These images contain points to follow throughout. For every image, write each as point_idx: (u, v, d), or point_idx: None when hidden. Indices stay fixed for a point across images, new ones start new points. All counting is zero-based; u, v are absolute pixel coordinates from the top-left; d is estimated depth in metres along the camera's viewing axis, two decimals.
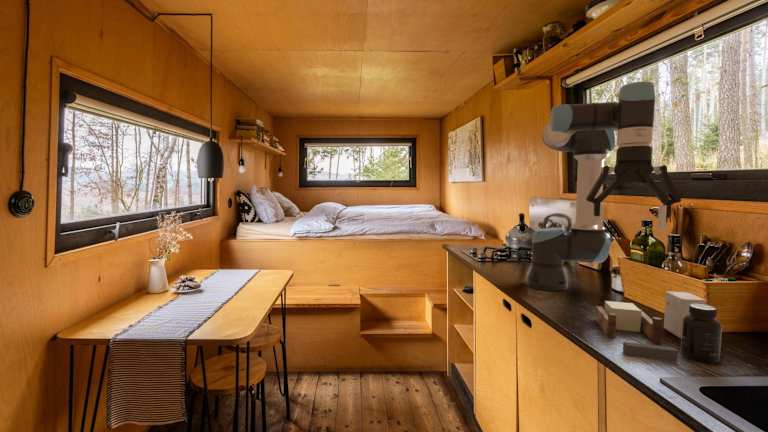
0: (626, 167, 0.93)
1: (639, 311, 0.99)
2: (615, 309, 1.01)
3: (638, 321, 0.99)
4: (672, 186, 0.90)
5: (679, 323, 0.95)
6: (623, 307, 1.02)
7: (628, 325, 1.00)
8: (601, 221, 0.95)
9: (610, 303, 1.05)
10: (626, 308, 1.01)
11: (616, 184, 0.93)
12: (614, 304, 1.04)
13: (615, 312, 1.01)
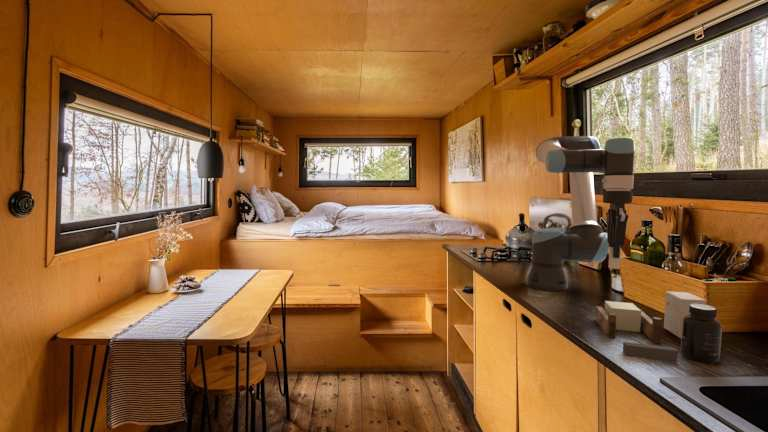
0: (610, 205, 1.13)
1: (639, 311, 0.99)
2: (615, 309, 1.01)
3: (638, 321, 0.99)
4: (615, 232, 1.07)
5: (679, 323, 0.95)
6: (623, 307, 1.02)
7: (628, 325, 1.00)
8: (609, 260, 1.12)
9: (610, 303, 1.05)
10: (626, 308, 1.01)
11: (610, 224, 1.12)
12: (614, 304, 1.05)
13: (615, 312, 1.01)
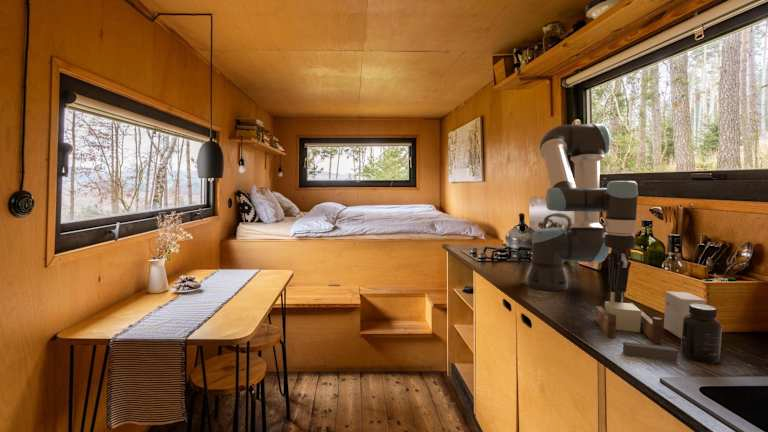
0: (612, 248, 1.10)
1: (639, 311, 0.99)
2: (615, 309, 1.01)
3: (638, 321, 0.99)
4: (617, 278, 1.04)
5: (679, 323, 0.95)
6: (623, 307, 1.02)
7: (628, 326, 1.00)
8: None
9: (610, 303, 1.05)
10: (626, 308, 1.01)
11: (612, 268, 1.09)
12: (614, 304, 1.05)
13: (615, 312, 1.01)
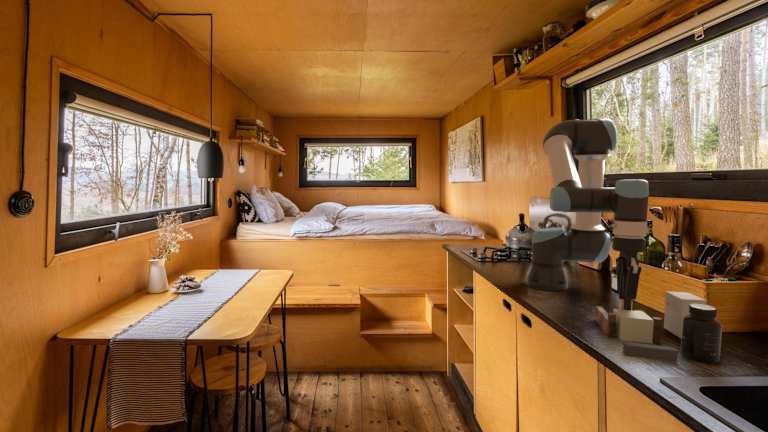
0: (620, 252, 1.03)
1: (651, 320, 0.92)
2: (625, 318, 0.93)
3: (650, 331, 0.92)
4: (626, 285, 0.97)
5: (679, 323, 0.95)
6: (633, 316, 0.94)
7: (639, 336, 0.93)
8: None
9: (619, 311, 0.98)
10: (637, 317, 0.93)
11: (620, 273, 1.02)
12: (623, 312, 0.97)
13: (625, 321, 0.93)
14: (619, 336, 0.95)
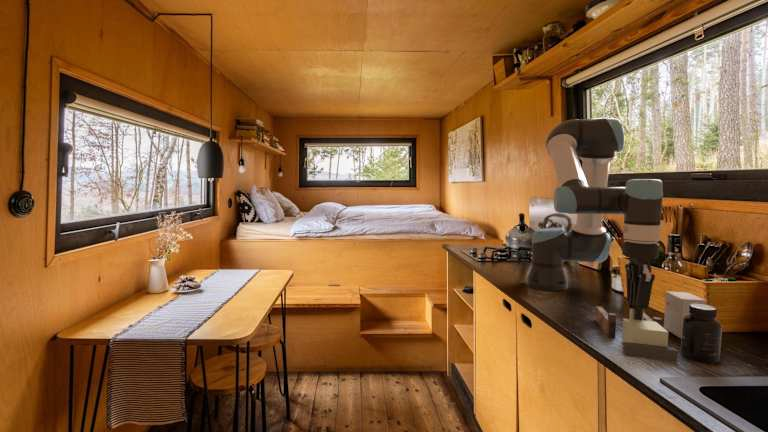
0: (631, 257, 0.95)
1: (666, 332, 0.84)
2: (637, 330, 0.86)
3: (665, 344, 0.84)
4: (638, 294, 0.89)
5: (679, 323, 0.95)
6: (646, 327, 0.87)
7: None
8: None
9: (630, 322, 0.90)
10: (650, 328, 0.86)
11: (631, 281, 0.94)
12: (635, 323, 0.89)
13: (637, 333, 0.86)
14: None
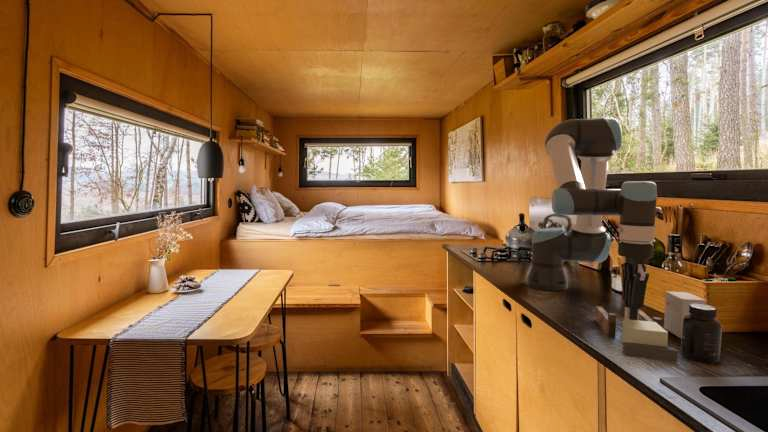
0: (626, 257, 0.98)
1: (665, 333, 0.84)
2: (637, 330, 0.86)
3: (664, 344, 0.84)
4: (633, 292, 0.92)
5: (679, 323, 0.95)
6: (646, 327, 0.87)
7: None
8: None
9: (630, 322, 0.90)
10: (650, 329, 0.86)
11: (626, 280, 0.97)
12: (634, 323, 0.89)
13: (637, 334, 0.86)
14: None
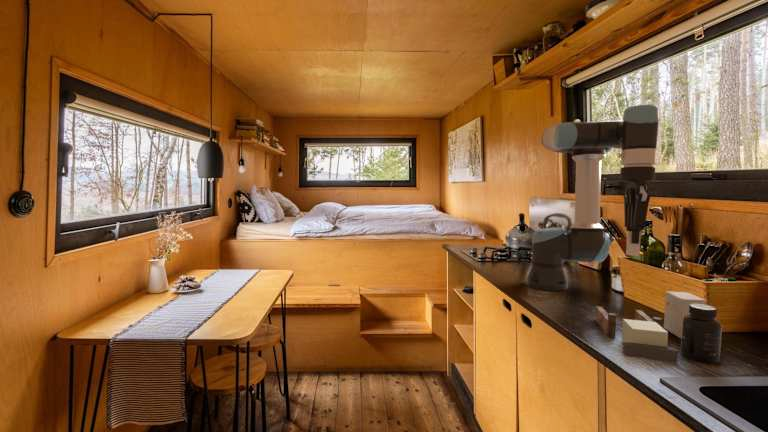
0: (629, 183, 0.99)
1: (665, 333, 0.84)
2: (637, 330, 0.86)
3: (664, 344, 0.84)
4: (635, 214, 0.94)
5: (679, 323, 0.95)
6: (646, 327, 0.87)
7: None
8: (626, 246, 0.99)
9: (630, 322, 0.90)
10: (650, 329, 0.86)
11: (628, 205, 0.99)
12: (634, 323, 0.89)
13: (637, 334, 0.86)
14: None
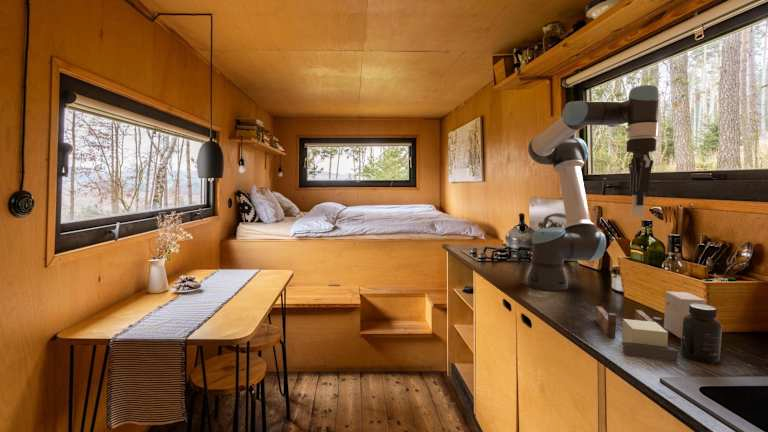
0: (633, 154, 1.15)
1: (665, 333, 0.84)
2: (637, 330, 0.86)
3: (664, 344, 0.84)
4: (639, 179, 1.09)
5: (679, 323, 0.95)
6: (646, 327, 0.87)
7: None
8: (632, 209, 1.14)
9: (630, 322, 0.90)
10: (650, 329, 0.86)
11: (633, 173, 1.14)
12: (635, 323, 0.89)
13: (637, 333, 0.86)
14: None
